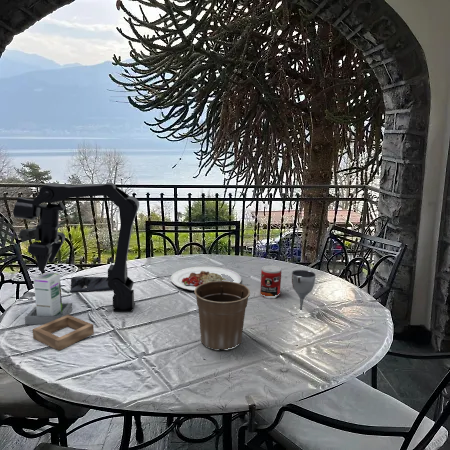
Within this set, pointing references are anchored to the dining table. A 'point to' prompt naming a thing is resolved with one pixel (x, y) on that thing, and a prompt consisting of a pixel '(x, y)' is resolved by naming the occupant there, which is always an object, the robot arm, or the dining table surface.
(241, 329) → the plant pot
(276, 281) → the canned food
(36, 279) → the syrup box
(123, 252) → the robot arm
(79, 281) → the dark slate chunk
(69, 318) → the brown wooden square frame
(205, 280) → the plated food
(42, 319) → the holder
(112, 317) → the dining table surface
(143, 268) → the dining table surface
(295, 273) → the grey funnel
